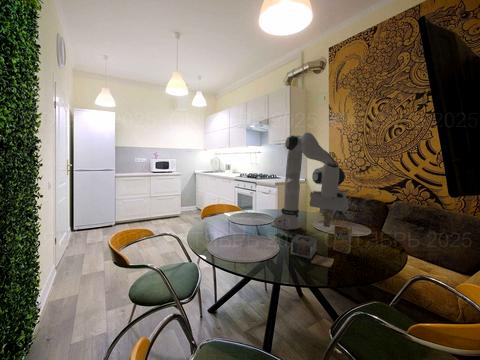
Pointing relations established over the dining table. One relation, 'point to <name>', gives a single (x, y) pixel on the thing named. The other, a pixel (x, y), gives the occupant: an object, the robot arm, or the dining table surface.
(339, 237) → the candy box
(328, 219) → the beige square bar
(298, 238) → the guard box
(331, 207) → the robot arm
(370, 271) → the dining table surface
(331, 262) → the cork pad
